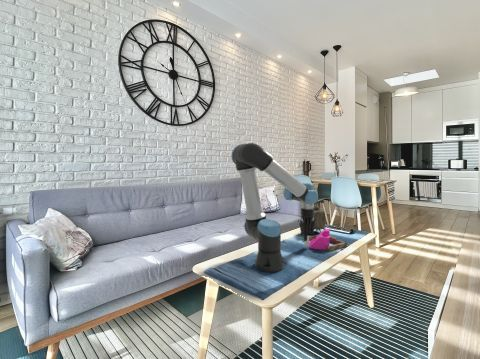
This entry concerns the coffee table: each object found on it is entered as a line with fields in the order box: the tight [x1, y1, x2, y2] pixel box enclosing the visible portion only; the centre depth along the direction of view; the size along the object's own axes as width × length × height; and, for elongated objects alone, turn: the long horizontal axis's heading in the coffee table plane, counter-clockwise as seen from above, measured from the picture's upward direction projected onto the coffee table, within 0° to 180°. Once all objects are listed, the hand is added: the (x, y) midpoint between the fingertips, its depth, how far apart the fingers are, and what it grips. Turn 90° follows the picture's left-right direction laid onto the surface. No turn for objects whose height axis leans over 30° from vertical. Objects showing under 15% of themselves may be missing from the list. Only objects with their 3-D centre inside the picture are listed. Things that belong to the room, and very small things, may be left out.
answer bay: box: [303, 233, 348, 252], centre depth 162 cm, size 16×22×3 cm
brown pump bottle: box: [313, 200, 326, 234], centre depth 186 cm, size 14×9×25 cm, turn 179°
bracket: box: [308, 228, 331, 251], centre depth 158 cm, size 12×10×10 cm
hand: (306, 245), depth 155 cm, fingers closed
